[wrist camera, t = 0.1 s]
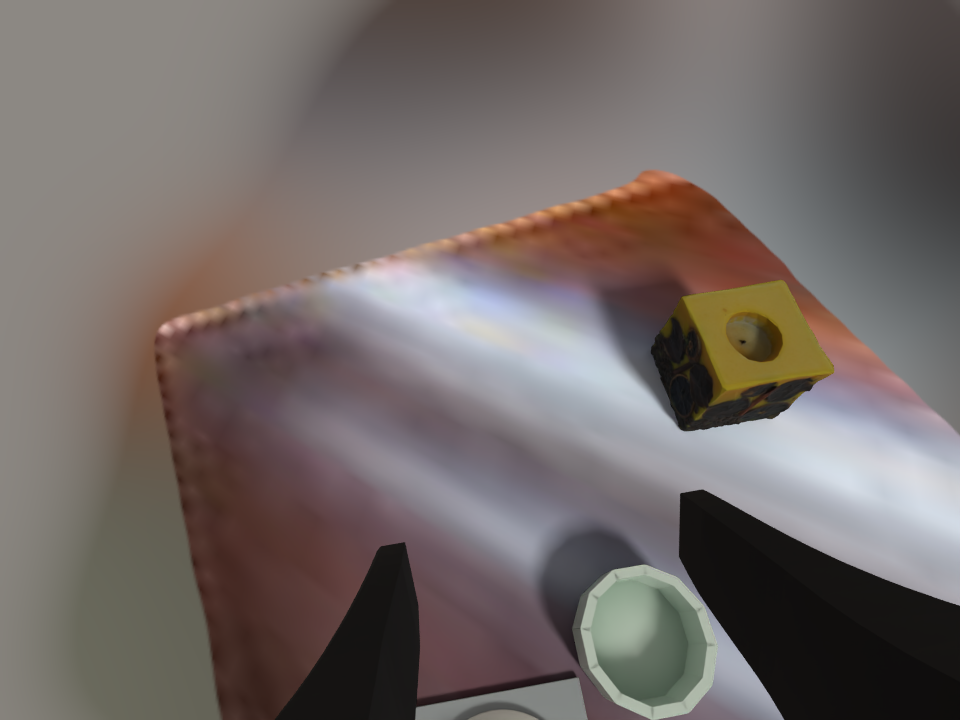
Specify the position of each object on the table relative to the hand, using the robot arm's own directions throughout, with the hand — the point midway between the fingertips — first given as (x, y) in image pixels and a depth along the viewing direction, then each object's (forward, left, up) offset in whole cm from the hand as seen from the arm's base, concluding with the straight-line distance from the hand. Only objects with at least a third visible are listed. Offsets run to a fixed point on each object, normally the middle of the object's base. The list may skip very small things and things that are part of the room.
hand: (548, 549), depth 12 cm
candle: (+17, -25, -32) cm, 44 cm away
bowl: (-4, -10, -32) cm, 34 cm away
